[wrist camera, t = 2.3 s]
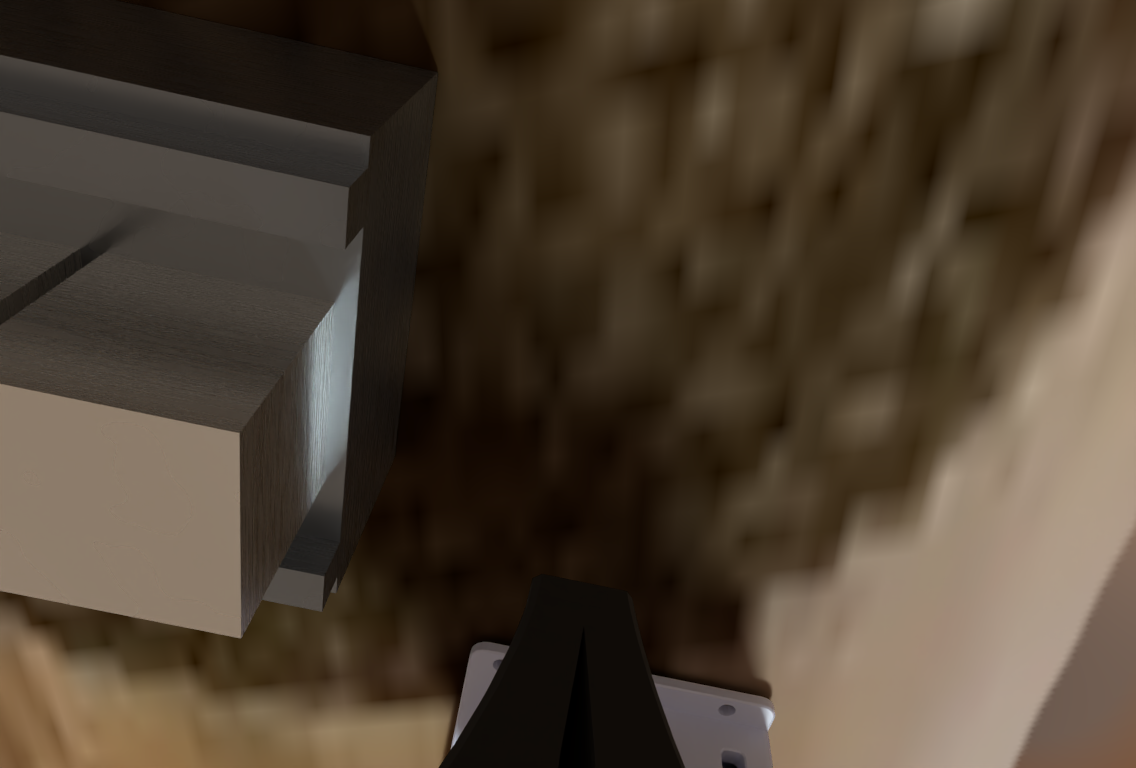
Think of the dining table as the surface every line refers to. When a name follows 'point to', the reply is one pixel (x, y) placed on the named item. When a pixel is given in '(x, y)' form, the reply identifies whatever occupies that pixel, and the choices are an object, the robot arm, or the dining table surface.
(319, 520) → the slot block
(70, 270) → the chip
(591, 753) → the robot arm
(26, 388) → the chip
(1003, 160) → the dining table surface
